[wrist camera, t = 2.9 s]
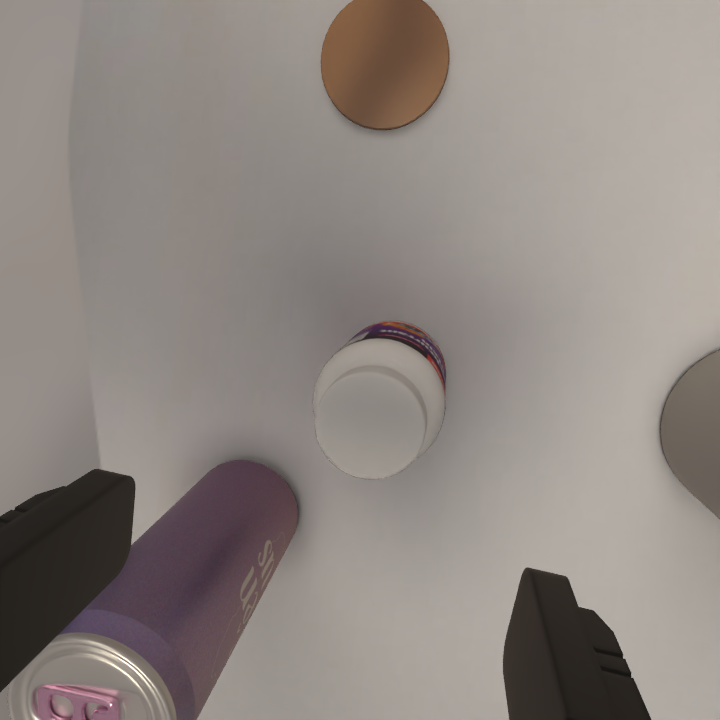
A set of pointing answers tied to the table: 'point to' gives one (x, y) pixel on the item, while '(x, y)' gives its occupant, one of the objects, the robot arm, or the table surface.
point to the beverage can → (167, 607)
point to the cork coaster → (385, 61)
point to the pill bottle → (380, 400)
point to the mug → (695, 431)
